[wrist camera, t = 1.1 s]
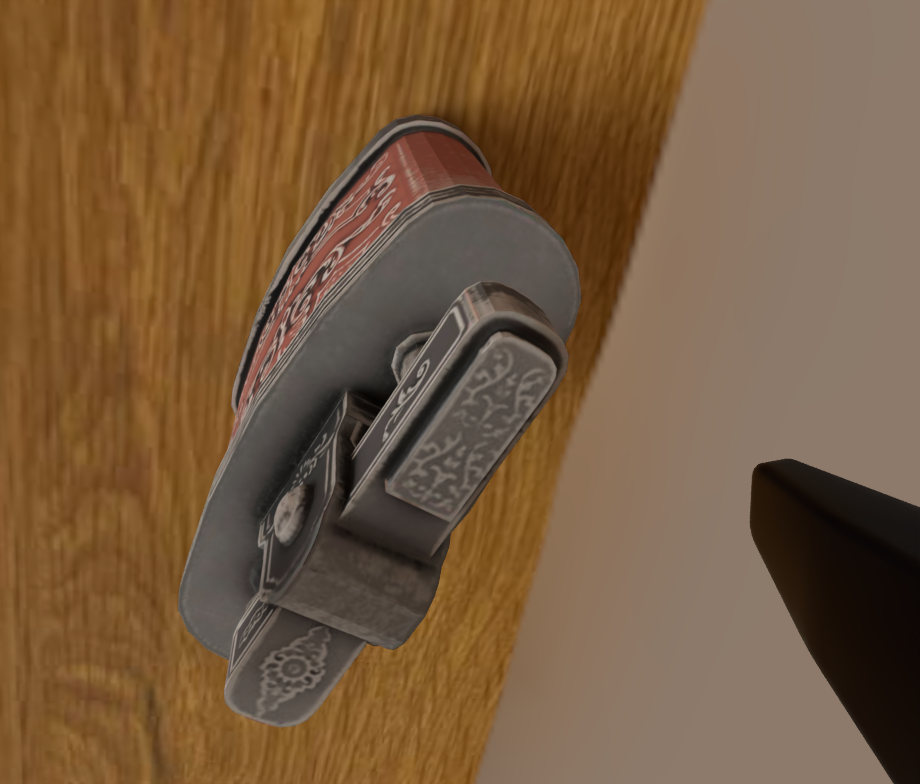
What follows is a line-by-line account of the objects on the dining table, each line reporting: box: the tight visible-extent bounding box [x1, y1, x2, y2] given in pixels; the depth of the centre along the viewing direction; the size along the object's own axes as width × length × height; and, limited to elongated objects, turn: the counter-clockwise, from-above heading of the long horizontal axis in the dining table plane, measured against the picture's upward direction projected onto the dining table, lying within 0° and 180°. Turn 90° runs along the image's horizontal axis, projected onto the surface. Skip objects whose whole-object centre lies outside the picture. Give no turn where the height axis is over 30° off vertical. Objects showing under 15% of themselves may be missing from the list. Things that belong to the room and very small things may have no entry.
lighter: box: [178, 115, 581, 727], centre depth 13 cm, size 8×3×10 cm, turn 146°
